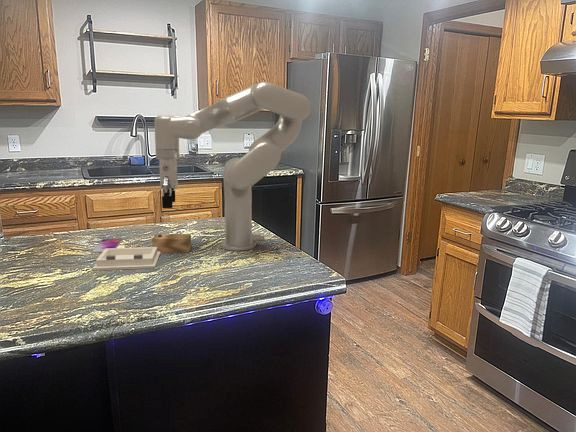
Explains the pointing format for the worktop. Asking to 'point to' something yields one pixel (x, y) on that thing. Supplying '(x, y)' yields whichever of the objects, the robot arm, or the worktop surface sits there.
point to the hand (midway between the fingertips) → (169, 204)
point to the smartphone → (106, 245)
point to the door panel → (172, 242)
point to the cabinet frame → (127, 258)
